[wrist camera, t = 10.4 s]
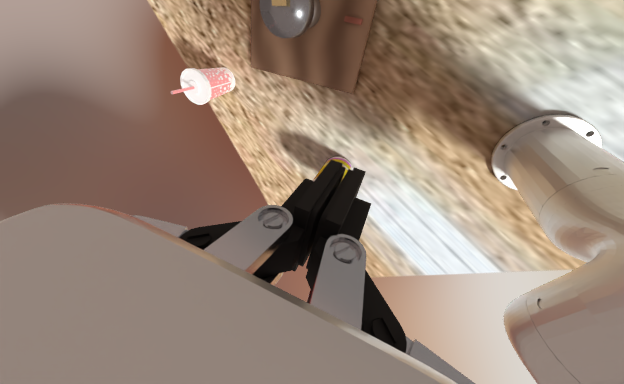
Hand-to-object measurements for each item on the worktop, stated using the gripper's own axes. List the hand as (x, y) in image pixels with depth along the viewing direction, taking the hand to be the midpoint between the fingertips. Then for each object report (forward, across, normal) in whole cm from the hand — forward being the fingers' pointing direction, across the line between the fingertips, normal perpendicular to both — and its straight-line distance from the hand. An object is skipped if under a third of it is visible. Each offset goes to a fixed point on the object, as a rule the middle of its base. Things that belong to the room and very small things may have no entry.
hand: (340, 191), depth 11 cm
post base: (+35, +17, -6) cm, 39 cm away
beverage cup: (+35, +34, +8) cm, 49 cm away
